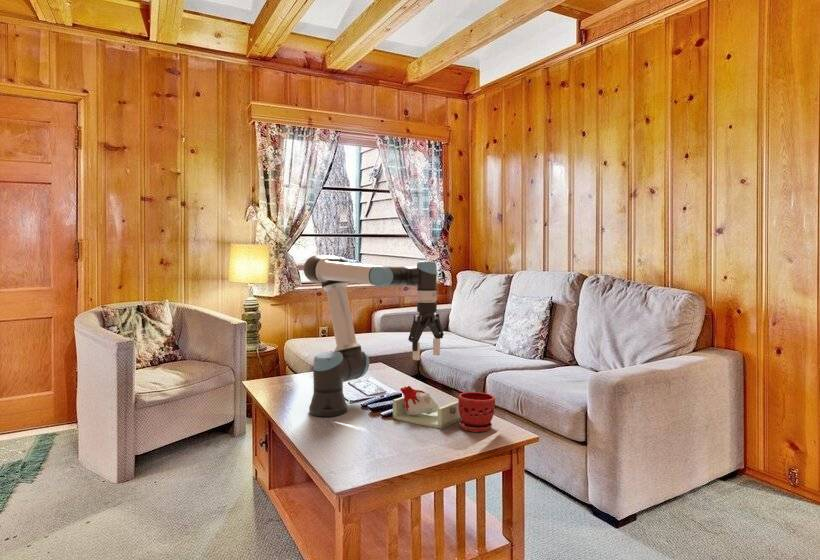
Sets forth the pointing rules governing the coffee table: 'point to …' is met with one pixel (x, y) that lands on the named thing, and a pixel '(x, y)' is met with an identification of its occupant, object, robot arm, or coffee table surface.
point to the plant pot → (476, 411)
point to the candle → (418, 402)
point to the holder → (428, 415)
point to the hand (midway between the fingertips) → (426, 357)
